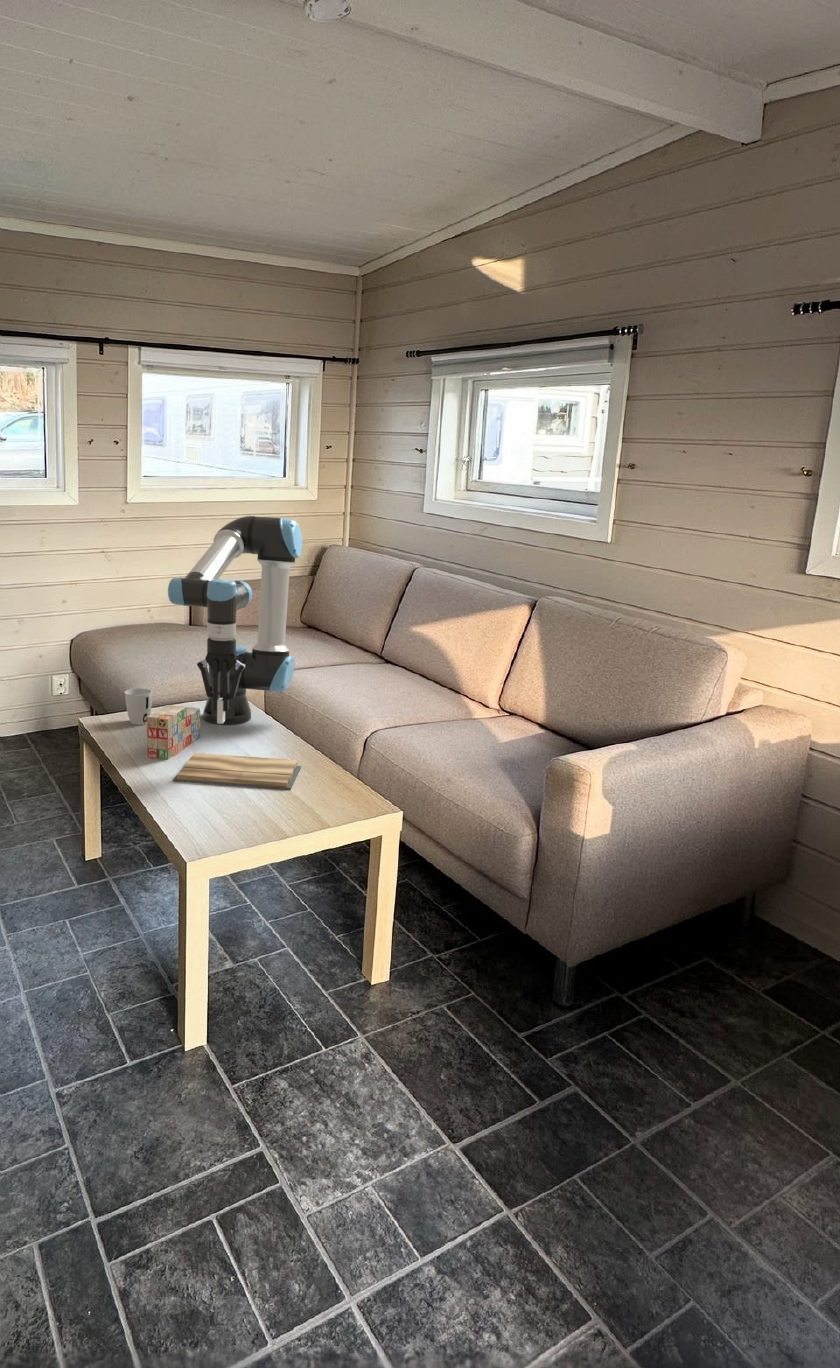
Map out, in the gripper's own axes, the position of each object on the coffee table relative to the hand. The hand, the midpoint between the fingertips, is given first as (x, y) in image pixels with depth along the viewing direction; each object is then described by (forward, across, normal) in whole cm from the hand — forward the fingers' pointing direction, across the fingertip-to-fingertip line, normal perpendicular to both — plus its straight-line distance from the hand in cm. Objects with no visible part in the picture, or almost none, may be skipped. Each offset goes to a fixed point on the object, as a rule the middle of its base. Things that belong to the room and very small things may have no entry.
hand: (221, 722), depth 249 cm
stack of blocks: (+13, -16, +12) cm, 24 cm away
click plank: (+12, +6, -3) cm, 14 cm away
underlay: (+12, +6, -6) cm, 15 cm away
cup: (+13, -34, +31) cm, 48 cm away
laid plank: (+12, +7, -12) cm, 18 cm away
